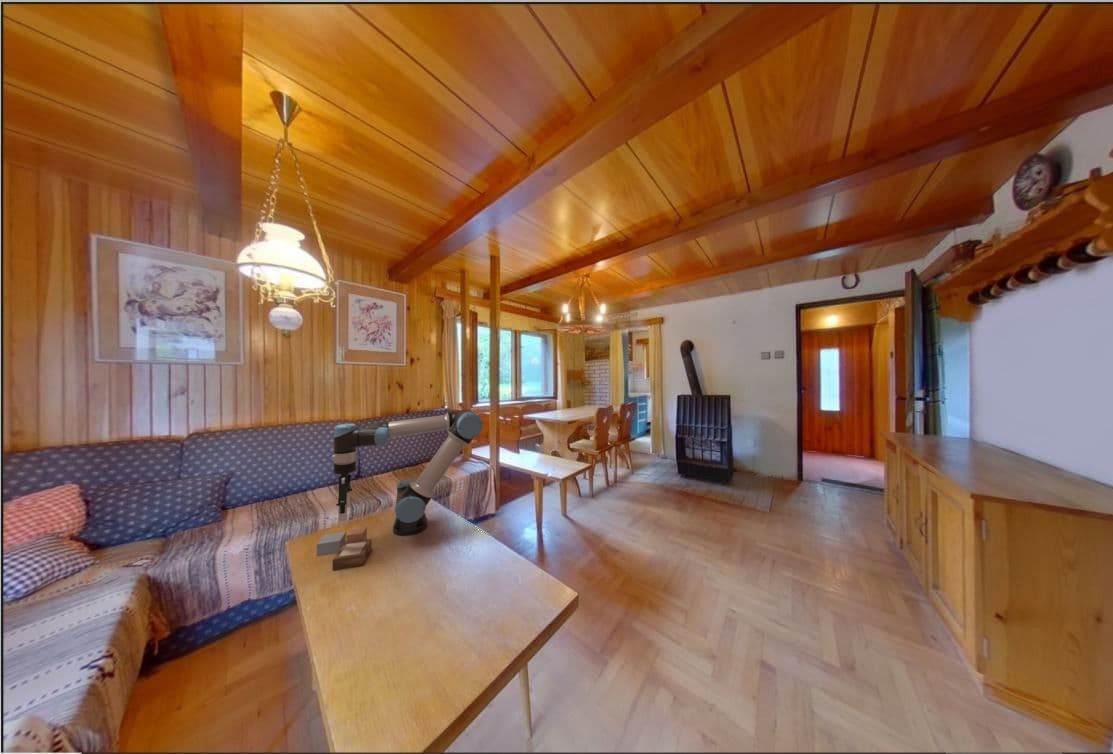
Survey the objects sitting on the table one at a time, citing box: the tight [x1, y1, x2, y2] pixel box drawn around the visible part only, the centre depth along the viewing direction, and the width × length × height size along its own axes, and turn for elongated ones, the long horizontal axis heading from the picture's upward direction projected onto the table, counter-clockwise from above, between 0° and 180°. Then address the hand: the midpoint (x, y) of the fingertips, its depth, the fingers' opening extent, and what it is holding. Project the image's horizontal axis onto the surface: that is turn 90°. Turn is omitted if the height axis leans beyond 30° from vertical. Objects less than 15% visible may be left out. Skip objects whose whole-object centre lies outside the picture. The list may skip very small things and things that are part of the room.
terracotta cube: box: [346, 526, 368, 543], centre depth 134 cm, size 6×6×6 cm
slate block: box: [316, 531, 347, 557], centre depth 131 cm, size 8×8×5 cm
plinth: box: [332, 539, 372, 571], centre depth 123 cm, size 12×10×4 cm
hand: (344, 514), depth 126 cm, fingers open, 13 cm apart
